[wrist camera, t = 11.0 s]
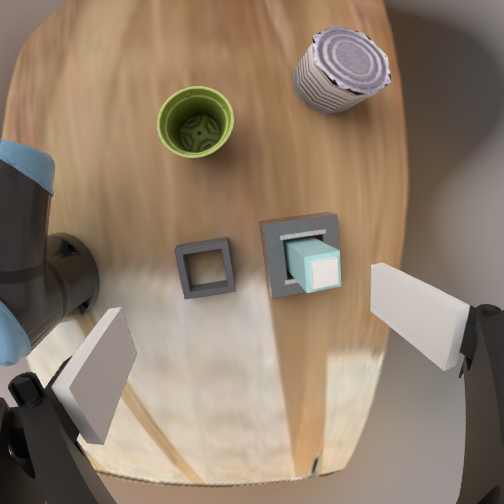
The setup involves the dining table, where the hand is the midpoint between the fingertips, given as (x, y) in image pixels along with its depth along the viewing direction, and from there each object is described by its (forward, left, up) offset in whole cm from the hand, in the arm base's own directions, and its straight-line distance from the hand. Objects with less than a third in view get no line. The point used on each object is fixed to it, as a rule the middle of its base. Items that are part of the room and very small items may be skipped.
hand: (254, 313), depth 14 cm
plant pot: (-3, +15, -30) cm, 34 cm away
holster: (-5, -5, -30) cm, 30 cm away
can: (+18, +22, -30) cm, 42 cm away
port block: (+10, -5, -30) cm, 32 cm away
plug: (+10, -5, -30) cm, 32 cm away
